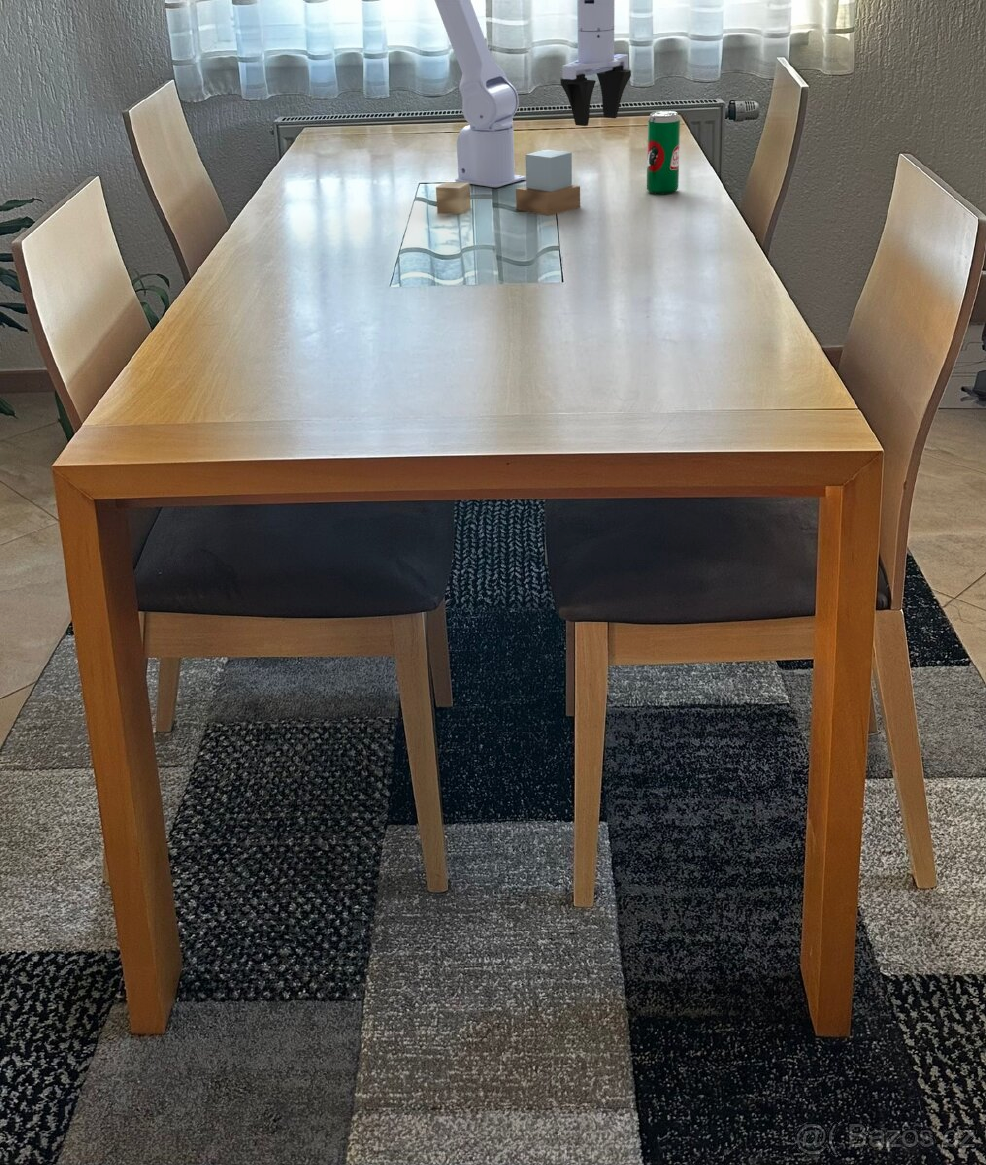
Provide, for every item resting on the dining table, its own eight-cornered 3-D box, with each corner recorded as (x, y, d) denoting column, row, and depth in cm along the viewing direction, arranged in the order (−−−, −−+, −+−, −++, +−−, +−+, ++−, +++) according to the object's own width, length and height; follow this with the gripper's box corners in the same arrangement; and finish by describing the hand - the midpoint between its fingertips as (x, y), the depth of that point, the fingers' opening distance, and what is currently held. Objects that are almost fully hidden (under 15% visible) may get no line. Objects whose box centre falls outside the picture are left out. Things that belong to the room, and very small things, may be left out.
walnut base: (516, 211, 201) (515, 188, 199) (548, 202, 205) (547, 180, 203) (548, 217, 196) (548, 194, 194) (580, 208, 200) (580, 185, 198)
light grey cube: (526, 187, 199) (525, 154, 196) (546, 182, 202) (546, 149, 199) (551, 191, 196) (550, 157, 193) (571, 185, 199) (571, 152, 196)
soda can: (677, 195, 204) (679, 115, 198) (645, 195, 205) (646, 116, 199) (679, 188, 208) (681, 110, 203) (648, 188, 209) (649, 110, 204)
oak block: (437, 213, 201) (435, 187, 199) (447, 207, 204) (445, 181, 202) (461, 214, 199) (459, 188, 197) (470, 208, 202) (469, 182, 200)
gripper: (587, 35, 193) (588, 130, 199) (644, 25, 202) (643, 116, 209) (551, 34, 197) (552, 126, 203) (608, 23, 206) (608, 112, 213)
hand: (596, 121), depth 206 cm, fingers open, 7 cm apart
